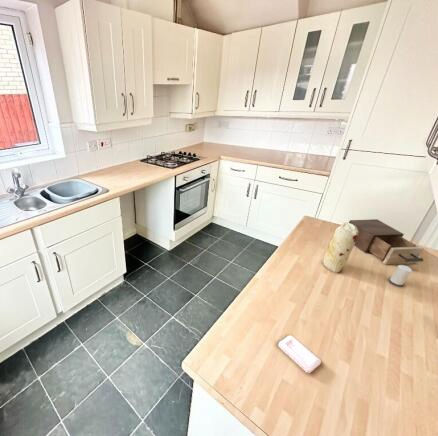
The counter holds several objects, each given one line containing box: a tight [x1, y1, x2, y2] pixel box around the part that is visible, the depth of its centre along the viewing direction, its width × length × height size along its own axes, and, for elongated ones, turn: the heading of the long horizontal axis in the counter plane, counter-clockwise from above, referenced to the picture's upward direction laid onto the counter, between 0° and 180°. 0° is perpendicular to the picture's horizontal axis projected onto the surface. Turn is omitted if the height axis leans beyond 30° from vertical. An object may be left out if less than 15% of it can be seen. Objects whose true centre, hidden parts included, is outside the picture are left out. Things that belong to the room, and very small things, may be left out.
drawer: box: [368, 236, 424, 265], centre depth 102 cm, size 17×12×8 cm
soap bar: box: [278, 335, 322, 374], centre depth 67 cm, size 5×9×2 cm, turn 28°
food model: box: [323, 222, 359, 274], centre depth 96 cm, size 10×7×20 cm
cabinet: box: [348, 218, 405, 254], centre depth 112 cm, size 13×13×9 cm
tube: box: [388, 264, 413, 287], centre depth 89 cm, size 4×4×8 cm
